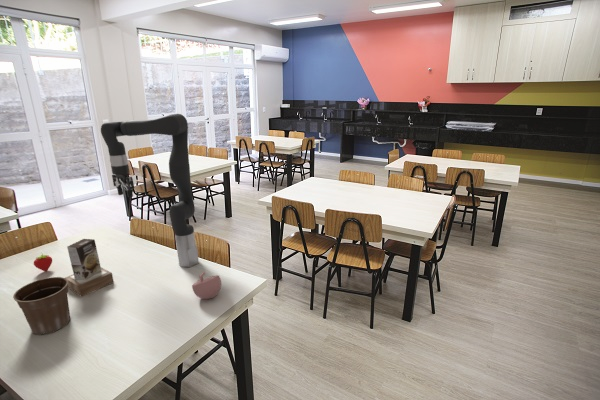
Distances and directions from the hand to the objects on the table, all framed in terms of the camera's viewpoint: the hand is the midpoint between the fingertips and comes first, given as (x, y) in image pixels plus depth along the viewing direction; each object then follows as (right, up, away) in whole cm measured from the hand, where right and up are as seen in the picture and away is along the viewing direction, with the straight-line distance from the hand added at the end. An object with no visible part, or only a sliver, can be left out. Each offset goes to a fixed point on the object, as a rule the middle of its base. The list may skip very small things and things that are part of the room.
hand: (125, 195), depth 164 cm
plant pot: (-8, -50, -38) cm, 63 cm away
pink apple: (+47, -44, -21) cm, 68 cm away
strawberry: (-41, -38, +2) cm, 56 cm away
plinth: (-10, -41, -11) cm, 44 cm away
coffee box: (-10, -37, -13) cm, 40 cm away
